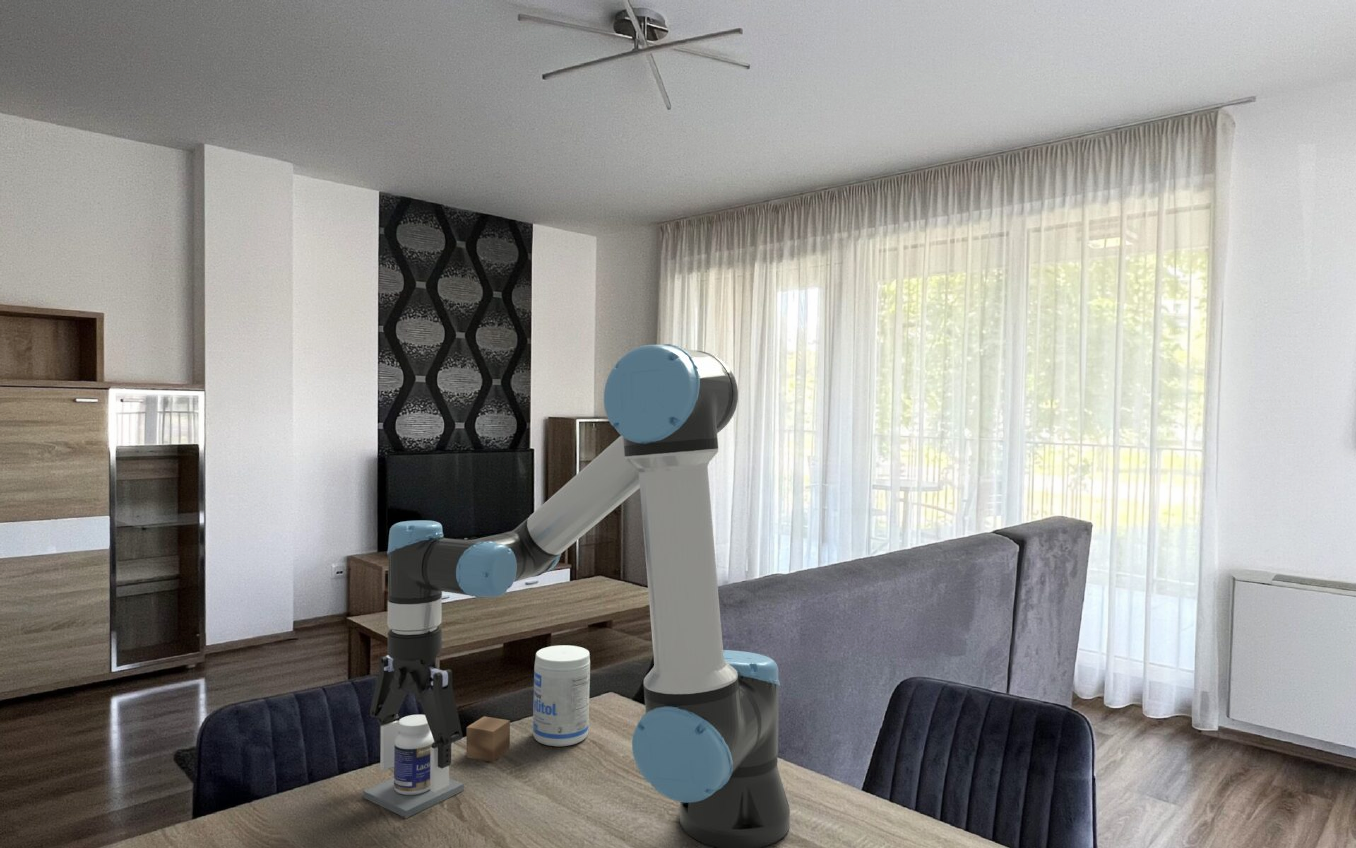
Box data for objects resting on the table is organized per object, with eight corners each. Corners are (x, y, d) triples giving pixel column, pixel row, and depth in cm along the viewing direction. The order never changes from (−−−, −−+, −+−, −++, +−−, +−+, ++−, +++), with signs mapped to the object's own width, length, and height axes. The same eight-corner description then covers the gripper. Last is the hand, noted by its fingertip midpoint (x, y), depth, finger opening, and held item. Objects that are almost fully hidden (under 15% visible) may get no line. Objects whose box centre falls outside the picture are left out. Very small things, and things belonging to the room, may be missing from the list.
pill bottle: (422, 798, 114) (422, 729, 114) (386, 794, 115) (386, 725, 115) (442, 780, 120) (442, 714, 120) (407, 776, 121) (407, 711, 121)
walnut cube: (509, 750, 133) (509, 720, 133) (492, 762, 129) (493, 731, 129) (483, 746, 135) (484, 716, 135) (466, 757, 130) (466, 727, 130)
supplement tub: (521, 741, 137) (522, 655, 137) (554, 722, 145) (555, 641, 145) (568, 753, 133) (569, 664, 132) (599, 733, 141) (600, 649, 141)
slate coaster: (463, 790, 119) (463, 784, 119) (406, 818, 111) (406, 811, 111) (420, 772, 125) (420, 766, 125) (363, 797, 116) (363, 790, 116)
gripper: (489, 635, 114) (488, 789, 114) (388, 610, 127) (387, 748, 127) (446, 647, 108) (445, 810, 108) (345, 620, 121) (344, 765, 121)
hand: (414, 777), depth 118 cm, fingers open, 11 cm apart
